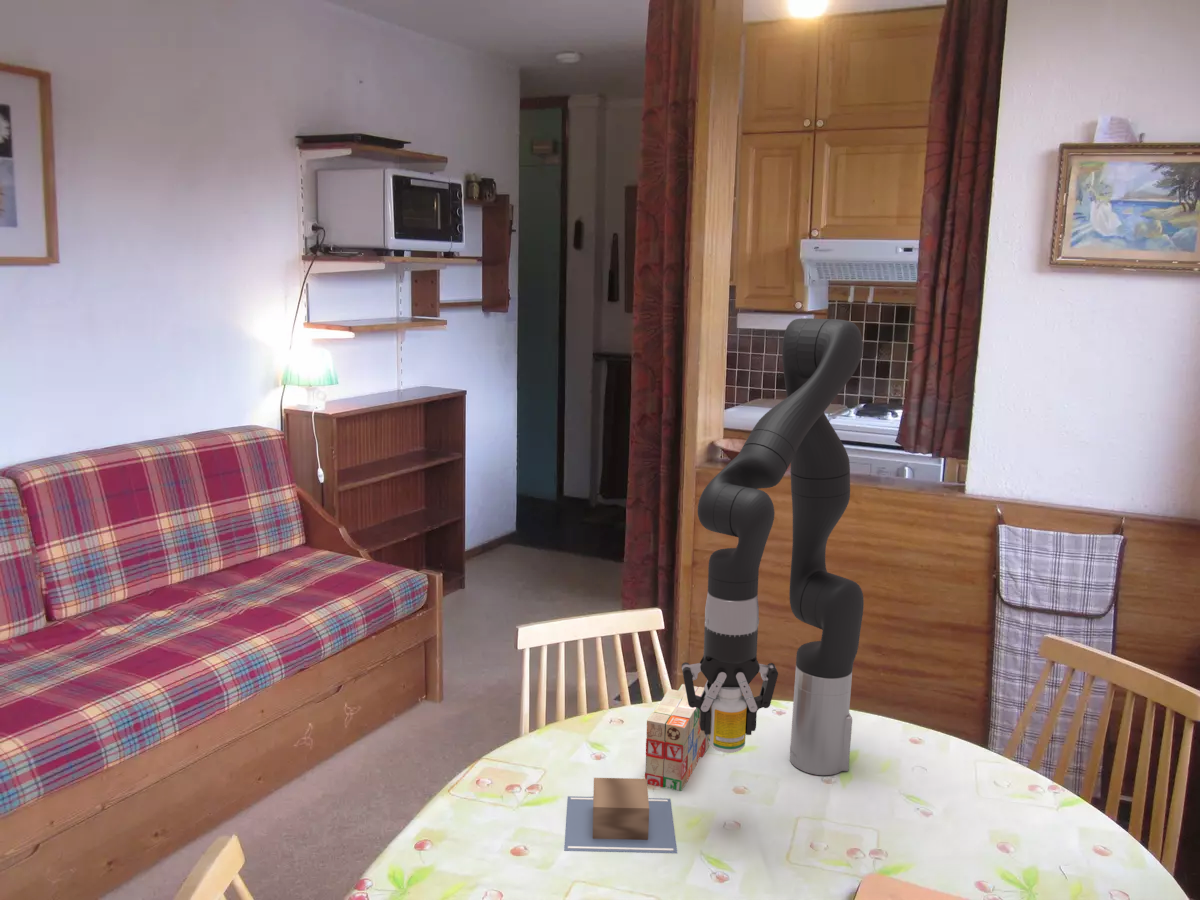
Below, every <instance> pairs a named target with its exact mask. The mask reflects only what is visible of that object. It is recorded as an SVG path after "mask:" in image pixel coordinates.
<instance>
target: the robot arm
mask: <svg viewBox="0 0 1200 900" xmlns="http://www.w3.org/2000/svg"><path fill="white" fill-rule="evenodd" d="M784 331H785V332H784V334H783V338H782V346H781V352H782V353H781V354H782V356H781V357H782V370H783V377H784V384H785V385H784V386H785V392H786V398H784V399H783V400H781V401H779V402H778V403H777V404H776V405H775V406H773V407H772V408H771V409H769V410H768V411H767V412H766V413H765V414H764V415H763V416H762V417H761V418H760V419H759V420H758V421H757V422H756V424H754V427H753V428H752V430H751V432H750V434H749V435H748V437H747V439H746V440H745V443H743V446H742V447H741V450H740V451H739V453H738V454H737V455H735V457H734V458H733V459H731V461H730V462H728V464H726V465H725V467H724V468H723V469H721V470H720V471H719V473H717V474H715V476H714V477H713V478H712V479H711V480H710V481H709V483H708V484H706V486H705V488H703V490H702V493H701V495H700V497H699V499H698V504H697V516H698V521H699V522H700V524H701V525H702V527H704V528H705V529H706V530H708V531H710V532H713V533H716V534H717V533H718V534H722V535H727V536H732V537H736V538H737V539H738V541H737V545H736V547H730V548H729V547H727V548H721V549H718V550H715V551H713V552H712V553H711V555H710V556H709V561H708V569H707V573H708V574H707V575H708V577H707V594H706V595H707V596H706V601H705V609H704V633H703V634H704V637H703V655H702V657H701V660H700V661H699V662H698V663H692V664H690V663H689V662H683V663H682V664H681V670H682V677H683V681H684V683H683V684H685V688H686V694H687V699H688V704H689V706H690V707H691V708H694V707H696V708H698V709H699V710H700V711H699V725H700V729H701V731H704V734H705V735H710V714H711V712H710V706H711V704H712V702H713V700H714V699H715V698H716V696H717V694H718V692H719V690H720V688H721V687H740V688H741V691H742V693H743V694H742V695H743V696H744V698H745V700H746V703H747V716H746V736H752V733H753V732H755V731H756V728H757V716H758V715H757V713H758V711H759V710H760V709H768V708H770V706H771V703H772V700H773V696H774V691H775V688H776V683H777V679H778V677H779V672H778V670H777V668H776V665H775V664H774V663H773V662H769V663H768V664H763V663H759V660H758V658H757V656H758V655H757V654H758V636H759V635H758V633H759V624H760V617H759V613H760V612H759V597H758V594H759V593H758V592H759V575H760V573H759V570H760V566H761V561H762V557H763V554H764V550H765V548H766V545H767V542H768V538H769V536H770V533H771V530H772V527H773V524H774V521H775V514H776V513H775V506H774V504H773V500H772V498H771V497H770V496H769V494H768V493H766V492H765V491H764V490H762V489H768V488H769V489H770V488H772V487H776V486H777V485H778V484H780V482H781V480H782V479H783V478H784V476H785V474H786V472H787V470H788V469H789V466H790V489H791V505H792V509H791V511H792V548H791V550H792V551H791V562H790V563H791V564H790V576H789V577H790V578H789V592H788V593H789V594H788V595H789V605H790V609H791V612H792V614H793V616H794V617H795V618H796V619H797V620H799V621H801V622H803V623H805V624H808V625H810V626H811V627H812V626H813V627H815V628H817V629H819V630H822V633H821V639H820V640H817V641H816V640H815V641H810V642H806V643H803V644H801V645H800V646H799V647H798V648H797V651H796V655H795V656H796V657H795V673H794V674H795V675H794V685H793V686H794V687H793V690H794V691H793V703H792V718H791V720H792V721H791V731H790V744H789V745H790V746H789V761H790V763H791V765H792V766H794V767H795V768H796V769H799V770H800V771H802V772H805V773H808V774H811V775H817V776H832V775H835V774H839V773H841V772H848V771H849V768H850V767H849V766H850V757H851V755H850V753H851V741H852V729H853V717H852V716H851V714H850V705H851V704H850V703H851V693H852V683H853V682H852V680H853V679H852V677H853V667H854V662H855V659H856V656H857V653H858V650H859V645H860V635H861V628H862V622H863V614H864V607H865V606H864V601H865V600H864V593H863V590H862V587H861V586H860V585H859V584H858V582H856V581H854V580H851V579H849V578H846V577H843V576H840V575H837V574H834V573H831V572H828V571H827V566H826V565H827V564H826V549H827V544H828V539H829V537H830V534H831V533H832V532H833V530H834V529H835V527H836V526H837V524H838V523H839V521H840V520H841V518H842V516H844V513H845V512H846V509H847V508H848V505H849V503H850V498H851V467H850V465H851V464H850V459H849V454H848V451H847V449H846V447H845V445H844V444H843V442H842V439H841V438H840V437H839V435H838V434H837V432H836V431H835V429H834V426H832V423H831V422H830V421H829V419H828V417H827V416H826V413H825V412H826V410H827V409H828V407H829V406H830V405H831V404H832V402H833V401H834V400H835V399H836V398H837V396H838V395H839V394H840V392H841V391H842V389H844V387H846V385H847V384H848V382H849V381H850V380H851V378H852V377H853V375H854V374H855V372H856V371H857V368H858V366H859V365H860V362H861V360H862V359H861V358H862V355H863V336H862V332H861V331H860V328H859V327H858V326H857V325H856V323H854V322H852V321H850V320H845V319H837V318H834V319H832V318H809V317H808V318H803V317H802V318H795V319H793V320H791V322H789V323H788V325H787V327H786V328H785V330H784ZM699 673H702V675H703V676H704V677H705V678H706V682H705V684H704V686H703V687H704V690H703V693H702V695H701V697H700V696H697V695H695V690H694V686H695V685H694V681H696V680H697V679H698V678H699V677H698V674H699ZM759 673H760V678H761V679H762V684H761V688H760V690H759V691H760V692H759V695H758V696H755V697H754V694H753V692H752V690H751V689H752V688H751V687H750V683H751V682H752V681H753V680H754V678H755V677H756V676H757V675H758V674H759Z"/></svg>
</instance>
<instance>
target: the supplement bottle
mask: <svg viewBox="0 0 1200 900" xmlns="http://www.w3.org/2000/svg"><path fill="white" fill-rule="evenodd" d="M710 712H711V714H710V735H708V742H709V746H710V747H711V748H712V749H714V750H715V751H718V752H721V753H726V754H734V753H737V752H739V751H741V750H743V748H744V747H745V746H746V737H747V735H746V716H747V703H746V700H745V698H744V695H743V693H742V691H741V688H740V687H721V688H720V690H719V692H718V694H717V696H716V698H715V699H714V700H713V702H712V704H711V706H710Z"/></svg>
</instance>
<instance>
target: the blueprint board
mask: <svg viewBox="0 0 1200 900" xmlns="http://www.w3.org/2000/svg"><path fill="white" fill-rule="evenodd" d="M648 800H649V828H648V840H631V839H593V796H578V795H577V796H576V795H575V796H573V795H572V796H570V795H568V796H567V801H566V802H567V803H566V814H565V815H566V816H565V829H564V830H565V834H564V847H563V851H565V852H592V853H593V852H595V853H596V852H598V853H603V852H604V853H636V854H637V853H640V854H641V853H643V854H644V853H645V854H646V853H647V854H678V849H677V841H676V832H675V824H674V817H673V809H672V801H671V798H661V797H660V798H657V797H648Z"/></svg>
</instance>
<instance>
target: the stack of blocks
mask: <svg viewBox="0 0 1200 900" xmlns="http://www.w3.org/2000/svg"><path fill="white" fill-rule="evenodd" d="M704 687H705V686H703V687H702V686H696V685H694V690H695V695H697V696H700V697H701V695H702V693H703V690H704ZM699 711H700V710H699V709H698V708H696V707H694V708H691V707H690V706H689V704H688V699H687V694H686V688H685V683H682V684H681V685H680V687H679V689H678V690H677V689H672V688H668V689H667V691H666V692H665V693H664V695H663V698H661V701H660V702H659V703H658V705H657V706H656V707H655V709H654V710H653V712H652V713H651V714H650V716H649V717H647V720H646V738H645V772H644V779H647V785H651V786H655V787H659V788H665V789H666V788H667V789H671V790H675V791H679V792H682V791H683V789H684V788H685V786H686V784H687V783H688V780H690V777H691V775H692V774H693V772H694V770H695V769H696V767H697V765H698V762H699V759H700V758H703V757H704V755H705V753H706V752H707V750H708V749H709V746H710V745H709V742H708V735H705V734H704V731H701V729H700V725H699Z"/></svg>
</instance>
